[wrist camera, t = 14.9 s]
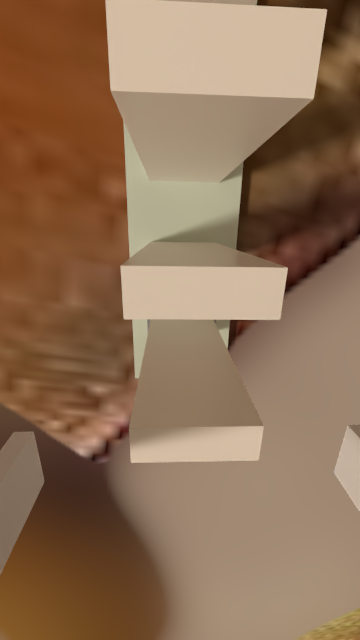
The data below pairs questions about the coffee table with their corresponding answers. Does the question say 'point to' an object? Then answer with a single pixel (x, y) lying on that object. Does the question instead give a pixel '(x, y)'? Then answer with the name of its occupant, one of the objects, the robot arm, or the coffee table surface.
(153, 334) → the domino
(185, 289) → the domino
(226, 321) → the board
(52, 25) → the coffee table surface
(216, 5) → the domino
